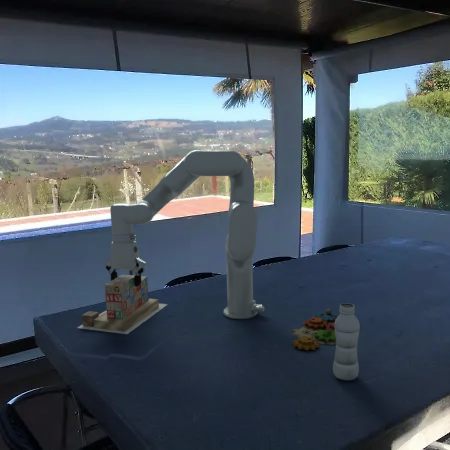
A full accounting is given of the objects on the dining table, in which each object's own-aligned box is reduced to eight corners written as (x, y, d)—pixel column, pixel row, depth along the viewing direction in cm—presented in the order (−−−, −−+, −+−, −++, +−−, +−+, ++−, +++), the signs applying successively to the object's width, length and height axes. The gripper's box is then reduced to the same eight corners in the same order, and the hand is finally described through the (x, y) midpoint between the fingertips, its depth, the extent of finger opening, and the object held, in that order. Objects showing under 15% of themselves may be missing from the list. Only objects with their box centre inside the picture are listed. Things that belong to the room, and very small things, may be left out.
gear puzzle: (321, 358, 133) (321, 345, 132) (273, 345, 142) (273, 333, 142) (360, 324, 157) (361, 313, 156) (317, 315, 167) (318, 304, 166)
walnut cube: (99, 322, 161) (98, 312, 161) (92, 327, 158) (91, 316, 157) (89, 321, 163) (89, 311, 162) (82, 325, 159) (82, 315, 158)
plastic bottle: (329, 372, 123) (330, 302, 120) (353, 370, 124) (355, 300, 120) (337, 384, 117) (338, 310, 114) (362, 382, 117) (364, 309, 114)
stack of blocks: (134, 298, 178) (132, 267, 176) (149, 299, 176) (147, 268, 174) (106, 318, 157) (104, 284, 155) (123, 319, 156) (120, 285, 154)
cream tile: (167, 306, 179) (167, 304, 179) (127, 336, 151) (127, 334, 151) (123, 301, 186) (123, 300, 185) (77, 329, 158) (76, 327, 158)
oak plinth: (158, 306, 176) (158, 299, 176) (124, 331, 153) (123, 323, 153) (131, 304, 180) (131, 296, 180) (94, 327, 157) (93, 319, 156)
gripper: (149, 237, 162) (152, 283, 165) (108, 235, 168) (111, 279, 171) (139, 241, 155) (142, 289, 158) (96, 239, 161) (99, 285, 164)
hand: (126, 284), depth 165 cm, fingers open, 9 cm apart
